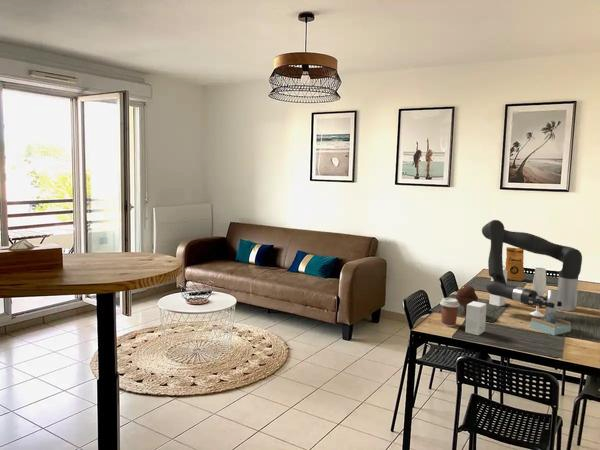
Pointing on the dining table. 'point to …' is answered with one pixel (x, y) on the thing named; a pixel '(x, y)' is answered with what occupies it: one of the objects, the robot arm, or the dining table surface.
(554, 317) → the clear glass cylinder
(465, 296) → the ice cream bowl
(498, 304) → the milk
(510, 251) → the coffee package
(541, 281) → the champagne flute
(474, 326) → the small box
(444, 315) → the coffee cup
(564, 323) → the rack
